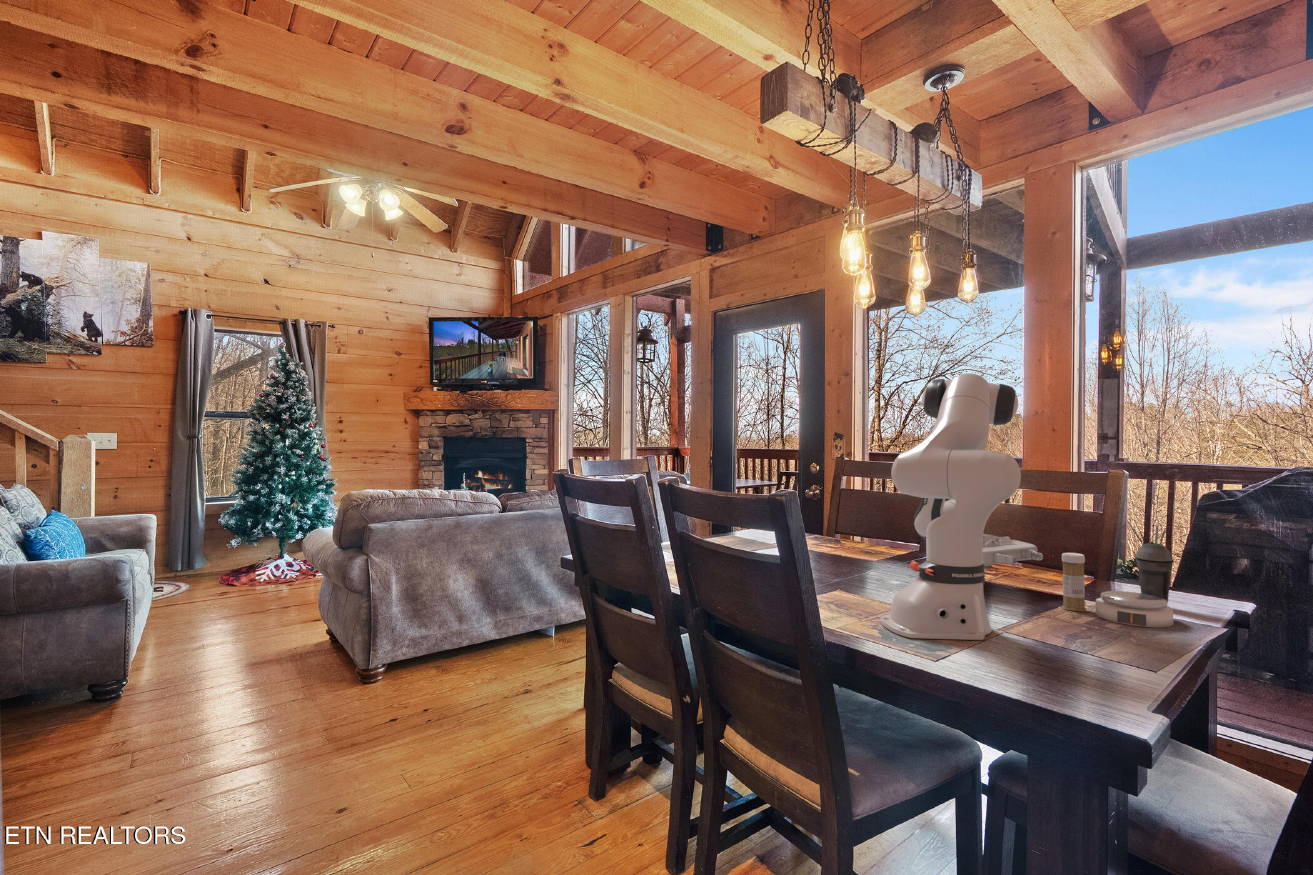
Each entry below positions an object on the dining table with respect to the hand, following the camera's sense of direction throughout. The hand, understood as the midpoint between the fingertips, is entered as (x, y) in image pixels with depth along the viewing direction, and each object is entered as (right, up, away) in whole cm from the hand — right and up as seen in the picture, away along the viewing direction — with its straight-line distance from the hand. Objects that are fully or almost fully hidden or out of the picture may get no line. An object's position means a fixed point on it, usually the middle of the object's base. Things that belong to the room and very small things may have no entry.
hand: (1027, 558), depth 159 cm
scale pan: (+13, -6, -19) cm, 24 cm away
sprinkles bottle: (+4, -10, -12) cm, 16 cm away
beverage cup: (+25, -10, -10) cm, 29 cm away
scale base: (+13, -10, -19) cm, 25 cm away
